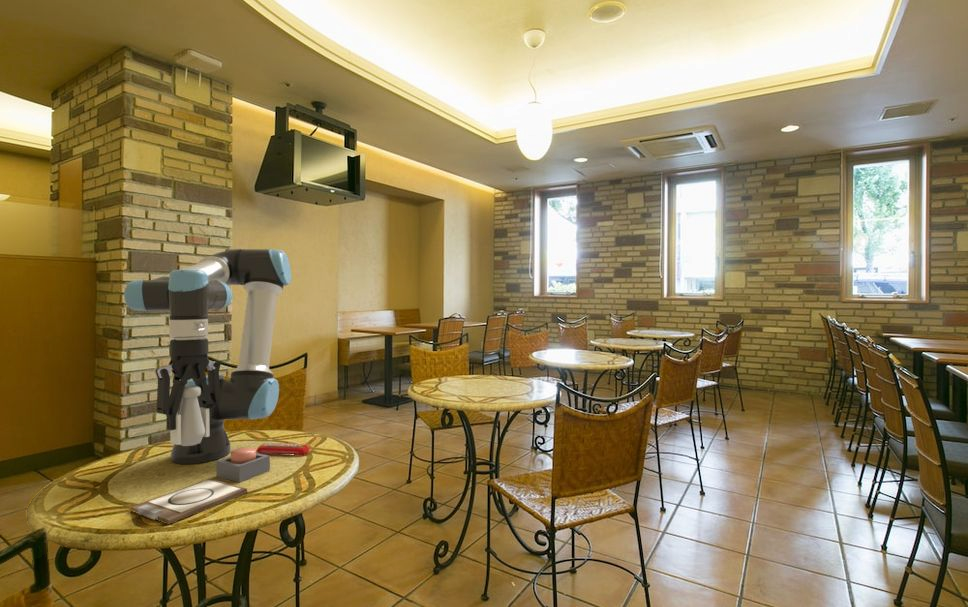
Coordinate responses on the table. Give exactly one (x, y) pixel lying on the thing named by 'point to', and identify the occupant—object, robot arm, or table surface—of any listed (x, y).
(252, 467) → the button housing
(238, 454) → the button
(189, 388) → the salt shaker
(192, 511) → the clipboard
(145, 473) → the table surface
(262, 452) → the candy bar
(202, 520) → the table surface
